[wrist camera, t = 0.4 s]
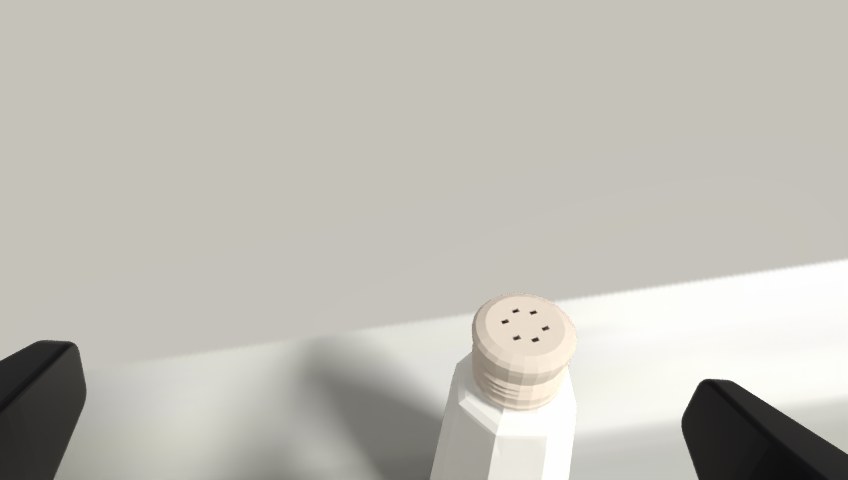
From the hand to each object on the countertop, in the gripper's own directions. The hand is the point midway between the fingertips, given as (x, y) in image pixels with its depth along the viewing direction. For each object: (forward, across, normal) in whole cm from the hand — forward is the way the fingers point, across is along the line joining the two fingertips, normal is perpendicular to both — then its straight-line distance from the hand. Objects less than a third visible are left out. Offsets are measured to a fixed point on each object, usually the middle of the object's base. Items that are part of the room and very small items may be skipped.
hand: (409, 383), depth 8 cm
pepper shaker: (+8, -6, +14) cm, 17 cm away
